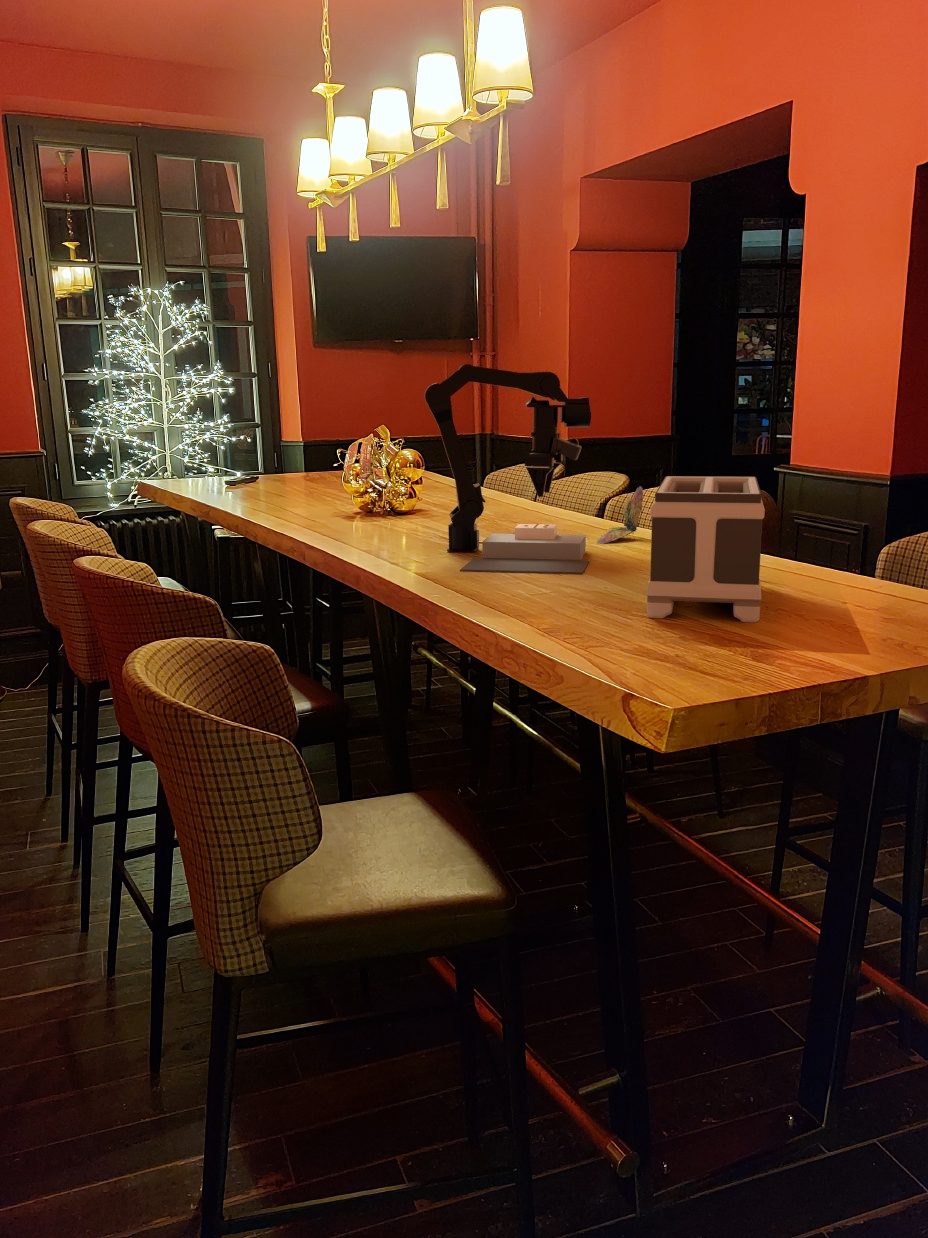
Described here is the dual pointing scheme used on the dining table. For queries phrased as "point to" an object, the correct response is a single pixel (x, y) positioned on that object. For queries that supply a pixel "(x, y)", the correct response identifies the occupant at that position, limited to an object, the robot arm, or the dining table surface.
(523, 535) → the domino
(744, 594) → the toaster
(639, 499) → the butterfly
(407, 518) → the dining table surface
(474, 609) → the dining table surface
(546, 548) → the block
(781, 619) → the dining table surface
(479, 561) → the mat
